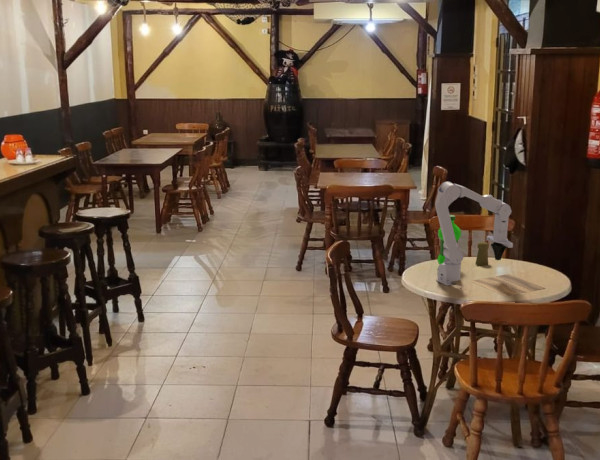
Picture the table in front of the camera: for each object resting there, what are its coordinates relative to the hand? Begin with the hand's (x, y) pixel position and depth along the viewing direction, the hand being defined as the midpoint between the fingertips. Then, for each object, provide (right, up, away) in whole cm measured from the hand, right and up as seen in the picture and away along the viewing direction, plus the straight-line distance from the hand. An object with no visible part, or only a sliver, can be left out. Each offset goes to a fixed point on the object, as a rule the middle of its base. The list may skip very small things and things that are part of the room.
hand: (497, 259), depth 293 cm
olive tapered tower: (0, -4, +26) cm, 27 cm away
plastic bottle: (-17, -5, +21) cm, 28 cm away
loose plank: (+8, -11, -5) cm, 14 cm away
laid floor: (-2, -12, -9) cm, 15 cm away
